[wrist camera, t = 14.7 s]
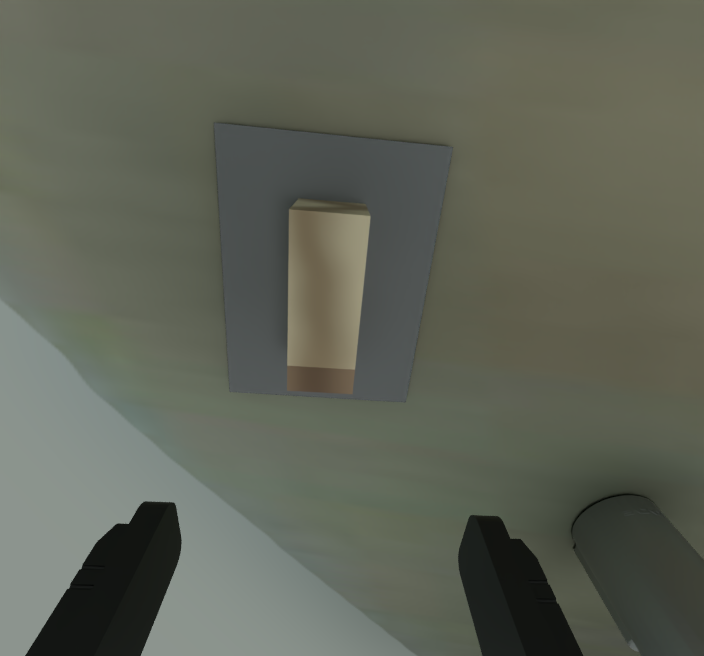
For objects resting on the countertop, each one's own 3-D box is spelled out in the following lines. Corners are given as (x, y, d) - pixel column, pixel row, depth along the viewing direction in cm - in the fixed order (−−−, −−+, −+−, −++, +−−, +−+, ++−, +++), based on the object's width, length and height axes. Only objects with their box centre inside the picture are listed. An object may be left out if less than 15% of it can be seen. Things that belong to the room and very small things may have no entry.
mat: (404, 398, 33) (405, 402, 33) (231, 387, 32) (229, 391, 32) (450, 146, 25) (453, 147, 24) (216, 123, 24) (213, 122, 23)
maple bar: (365, 203, 25) (370, 216, 21) (351, 357, 31) (352, 394, 26) (298, 198, 25) (289, 209, 21) (295, 354, 30) (286, 390, 26)
